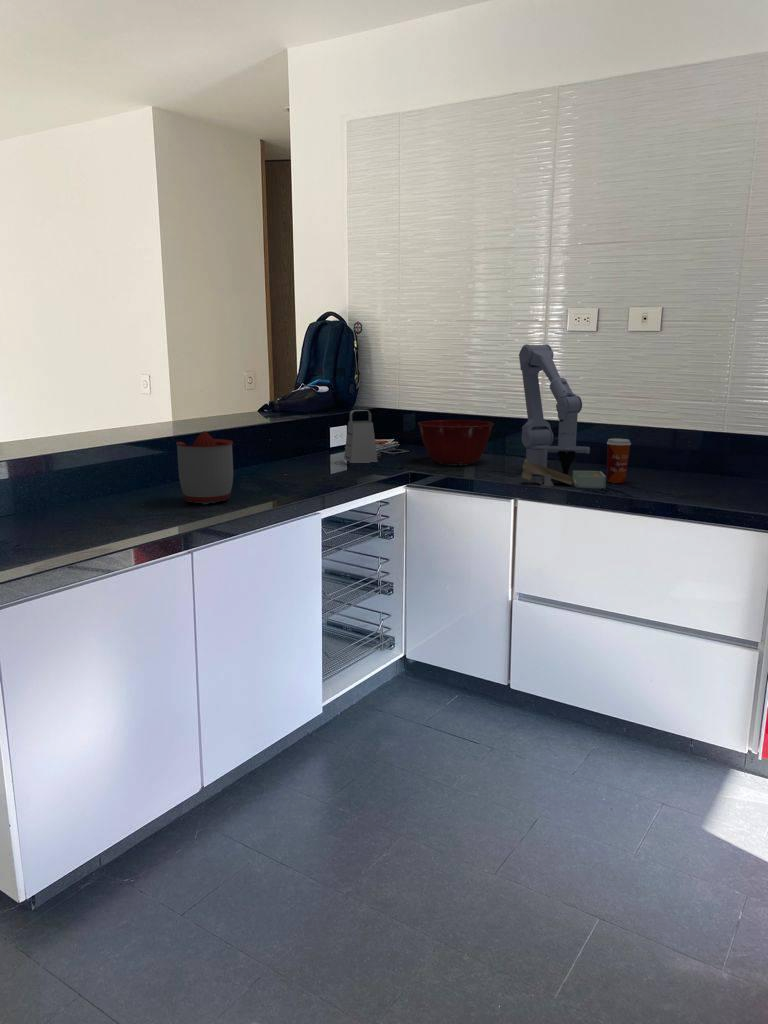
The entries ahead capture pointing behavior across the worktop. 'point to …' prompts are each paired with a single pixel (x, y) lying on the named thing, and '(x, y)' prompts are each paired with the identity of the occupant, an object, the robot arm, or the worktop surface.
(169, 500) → the worktop surface
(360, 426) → the grater
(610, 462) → the paper cup
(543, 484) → the stand
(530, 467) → the wooden ramp
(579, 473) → the tray
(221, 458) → the citrus juicer
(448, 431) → the mixing bowl
